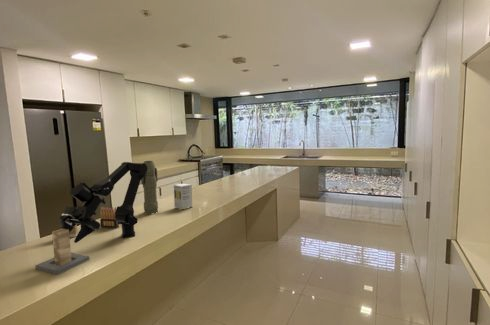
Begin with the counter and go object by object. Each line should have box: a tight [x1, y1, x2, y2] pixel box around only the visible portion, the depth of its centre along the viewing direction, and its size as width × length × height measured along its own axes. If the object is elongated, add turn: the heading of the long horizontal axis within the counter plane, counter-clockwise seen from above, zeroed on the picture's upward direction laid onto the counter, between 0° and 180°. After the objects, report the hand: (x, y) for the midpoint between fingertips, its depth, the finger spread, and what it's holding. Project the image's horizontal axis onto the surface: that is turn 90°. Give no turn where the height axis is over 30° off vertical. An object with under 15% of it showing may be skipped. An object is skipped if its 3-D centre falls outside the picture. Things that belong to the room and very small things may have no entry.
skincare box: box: [60, 213, 78, 238], centre depth 140 cm, size 6×4×12 cm
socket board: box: [35, 252, 90, 276], centre depth 109 cm, size 13×13×2 cm
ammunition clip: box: [99, 206, 120, 229], centre depth 154 cm, size 11×2×12 cm, turn 78°
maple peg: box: [51, 228, 72, 266], centre depth 109 cm, size 4×4×14 cm
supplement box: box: [173, 183, 193, 210], centre depth 193 cm, size 10×9×17 cm
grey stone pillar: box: [140, 160, 159, 215], centre depth 182 cm, size 9×12×35 cm
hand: (67, 241), depth 111 cm, fingers open, 9 cm apart
